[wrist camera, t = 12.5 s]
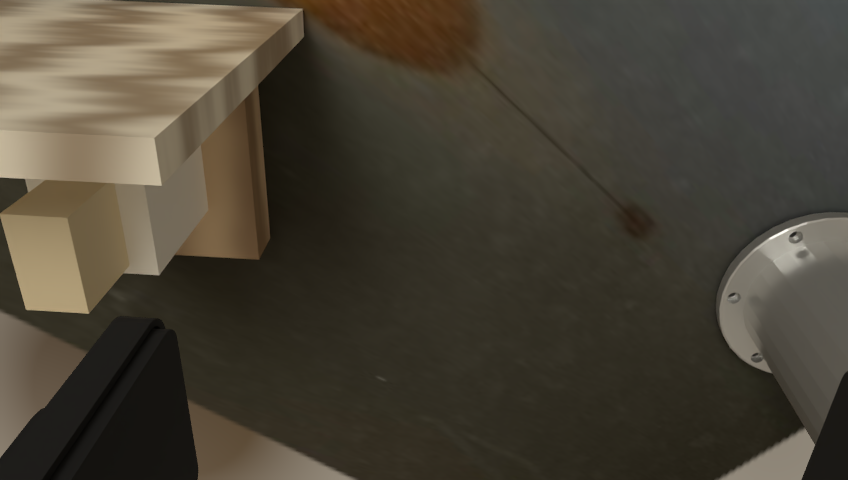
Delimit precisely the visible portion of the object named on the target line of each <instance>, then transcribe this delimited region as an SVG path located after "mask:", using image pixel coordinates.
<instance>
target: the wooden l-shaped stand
mask: <svg viewBox="0 0 848 480" xmlns="http://www.w3.org/2000/svg"><path fill="white" fill-rule="evenodd" d="M303 37H304V24H303V9H295V8H272V7H249V6H226V5H203V4H180V3H157V2H134V1H112V0H0V177H4V178H23V179H42V180H61V181H80V182H99V183H118V184H137V185H156V186H162V185H163V184H164V183H165V182H166V181H167V180H168V179H169V178H170V177H171V176H172V175H173V173H174V172H175V171H176V170H177V169H178V168H179V167H180V166H181V165H182V164H183V163H184V162H185V161H186V160H187V159H188V158H189V157H190V156H191V155H192V154H193V153H194V152H195V150H196V149H197V148H198V147H199V146H200V145H201V151H202V160H203V168H204V176H205V184H206V193H207V201H208V209H209V210H208V211H207V212H206V214H205V215H204V216H203V218H202V219H201V220H200V222H199V223H198V224H197V226H196V227H195V228H194V230H193V231H192V232H191V234H190V235H189V236H188V238H187V239H186V240H185V242H184V243H183V244H182V246H181V247H180V248H179V250H178V251H177V252H176V254H175V255H187V256H205V257H223V258H241V259H258V260H259V258H260V257H261V255H262V253H263V251H264V249H265V247H266V245H267V243H268V241H269V240H270V227H269V215H268V202H267V190H266V177H265V165H264V152H263V140H262V128H261V115H260V103H259V90H258V85H259V83H260V82H261V81H262V80H263V79H264V78H265V77H266V76H267V75H268V74H269V73H270V72H271V71H272V70H273V69H274V68H275V67H276V66H277V65H278V64H279V63H280V61H281V60H282V59H283V58H284V57H285V56H286V55H287V54H288V53H289V52H290V51H291V50H292V49H293V48H294V47H295V46H296V45H297V44H298V43H299V42H300V41H301V39H302V38H303Z"/></svg>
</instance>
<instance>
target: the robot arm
mask: <svg viewBox="0 0 848 480" xmlns="http://www.w3.org/2000/svg"><path fill="white" fill-rule="evenodd" d="M715 309H716V316H717V323H718V325H719V328H720V330H721V332H722V335H723V337H724V338H725V340H726V342H727V343H728V345H729V347H730V348H731V349H732V350H733V351H734V352H735V353H736V354H737V356H738V357H739V358H741V359H742V360H743V361H745V362H746V363H748V364H749V365H751V366H753V367H755V368H758V369H760V370H762V371H765V372H768V373H772V374H773V375H774V377H775V378H776V380H777V382H778V383H779V385H780V387H781V388H782V390H783V392H784V393H785V395H786V397H787V398H788V400H789V402H790V403H791V405H792V407H793V408H794V410H795V412H796V414H797V415H798V417H799V419H800V420H801V422H802V424H803V425H804V427H805V429H806V430H807V432H808V434H809V435H810V437H811V439H812V440H813V442H814V444H815V447H814V450H813V452H812V455H811V457H810V460H809V462H808V465H807V467H806V470H805V473H804V475H803V478H802V480H848V213H843V212H826V213H817V214H810V215H806V216H802V217H799V218H795V219H791V220H789V221H787V222H784V223H782V224H780V225H778V226H775V227H773V228H771V229H770V230H768V231H767V232H765V233H763V234H762V235H760V236H759V237H757V238H756V239H754V240H753V241H752V242H751V243H750V244H749V245H748V246H746V247H745V248H744V249H743V250H742V251H741V252H740V253H739V254H738V256H737V257H736V258H735V259H734V260H733V262H732V263H731V264H730V265H729V267H728V269H727V271H726V273H725V274H724V276H723V278H722V280H721V283H720V286H719V289H718V292H717V298H716V308H715ZM197 479H198V463H197V457H196V451H195V446H194V439H193V433H192V427H191V421H190V414H189V409H188V402H187V396H186V390H185V384H184V378H183V371H182V365H181V359H180V353H179V347H178V341H177V336H176V333H175V332H174V330H171V329H165V326H164V324H163V322H162V320H160V319H158V318H142V317H125V316H120V317H117V318H115V319H114V320H113V321H112V322H111V324H110V325H109V326H108V328H107V329H106V330H105V331H104V333H103V334H102V335H101V336H100V338H99V339H98V340H97V342H96V343H95V344H94V345H93V347H92V348H91V349H90V351H89V352H88V353H87V354H86V356H85V357H84V358H83V360H82V361H81V362H80V364H79V365H78V366H77V367H76V369H75V370H74V371H73V372H72V374H71V375H70V376H69V378H68V379H67V380H66V381H65V383H64V384H63V385H62V386H61V388H60V389H59V390H58V392H57V393H56V394H55V395H54V397H53V398H52V399H51V401H50V402H49V403H48V404H47V406H46V407H45V408H43V409H41V410H40V411H39V412H37V413H36V414H35V415H34V416H33V417H32V419H31V420H30V421H29V422H28V424H27V425H26V426H25V428H24V429H23V430H22V431H21V432H20V434H19V435H18V437H16V439H15V440H14V441H13V443H12V444H11V445H10V446H9V448H8V449H7V450H6V451H5V453H4V454H3V455H2V456H1V458H0V480H197Z"/></svg>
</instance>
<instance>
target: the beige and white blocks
mask: <svg viewBox="0 0 848 480" xmlns="http://www.w3.org/2000/svg"><path fill="white" fill-rule="evenodd" d="M25 181H26V185H27V189H28V193H27V194H26V195H24V196H23V197H22V198H20V199H19V200H18V201H16V202H15V203H14V204H12V205H11V206H10V207H8V208H7V209H6V210H4V211H3V212H2V213H0V217H1V221H2V224H3V228H4V232H5V235H6V239H7V242H8V246H9V250H10V253H11V257H12V261H13V264H14V268H15V271H16V275H17V279H18V282H19V286H20V289H21V293H22V297H23V300H24V304H25V307H26V310H39V311H55V312H71V313H87V314H89V313H90V312H91V311H92V309H93V308H94V307H95V306H96V305H97V303H98V302H99V301H100V300H101V299H102V298H103V296H104V295H105V294H106V293H107V292H108V290H109V289H110V288H111V287H112V286H113V285H114V283H115V282H116V281H117V280H118V279H119V277H120V276H121V275H122V274H123V273H130V274H147V275H160V274H161V272H162V271H163V270H164V268H165V267H166V266H167V264H168V263H169V262H170V260H171V259H172V258H173V256H174V255H175V254H176V252H177V251H178V250H179V248H180V247H181V246H182V244H183V243H184V242H185V240H186V239H187V238H188V236H189V235H190V234H191V232H192V231H193V230H194V228H195V227H196V226H197V224H198V223H199V222H200V220H201V219H202V218H203V216H204V215H205V214H206V212H207V211H208V210H209V209H208V201H207V193H206V184H205V176H204V168H203V160H202V151H201V145H200V146H199V147H198V148H197V149H196V150H195V152H194V153H193V154H192V155H191V156H190V157H189V158H188V159H187V160H186V161H185V162H184V163H183V164H182V165H181V166H180V167H179V168H178V169H177V170H176V171H175V172H174V173H173V175H172V176H171V177H170V178H169V179H168V180H167V181H166V182H165V183H164V184H163V185H162V186H156V185H137V184H118V183H99V182H80V181H61V180H42V179H25Z"/></svg>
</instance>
